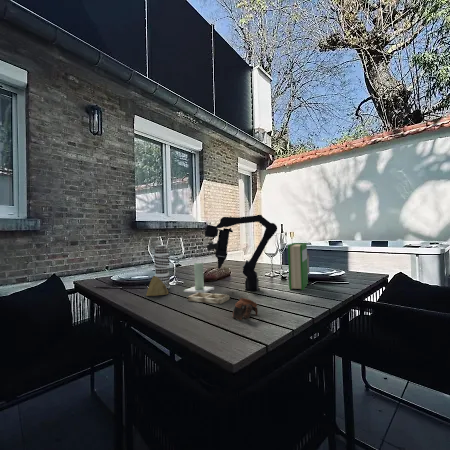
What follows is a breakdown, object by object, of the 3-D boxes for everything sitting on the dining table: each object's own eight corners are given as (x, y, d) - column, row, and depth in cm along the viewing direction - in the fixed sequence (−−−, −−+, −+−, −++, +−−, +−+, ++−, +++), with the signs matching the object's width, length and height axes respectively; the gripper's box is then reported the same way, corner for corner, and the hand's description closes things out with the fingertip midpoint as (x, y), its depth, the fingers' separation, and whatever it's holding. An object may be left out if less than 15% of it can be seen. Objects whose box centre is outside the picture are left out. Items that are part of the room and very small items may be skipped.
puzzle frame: (229, 300, 138) (229, 295, 138) (220, 305, 129) (220, 299, 129) (198, 297, 145) (198, 292, 145) (188, 301, 137) (188, 296, 137)
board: (214, 289, 161) (214, 287, 161) (203, 294, 150) (203, 291, 150) (195, 288, 166) (195, 285, 166) (184, 293, 156) (183, 290, 156)
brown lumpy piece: (228, 316, 115) (235, 296, 118) (249, 325, 116) (255, 305, 119) (236, 317, 104) (243, 295, 107) (259, 327, 105) (266, 305, 108)
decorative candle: (163, 290, 165) (161, 246, 165) (151, 288, 169) (149, 246, 169) (173, 286, 172) (172, 244, 173) (161, 285, 177) (160, 244, 177)
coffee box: (298, 277, 190) (297, 252, 190) (308, 277, 189) (308, 252, 189) (299, 279, 181) (298, 254, 182) (310, 280, 180) (309, 254, 180)
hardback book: (303, 290, 152) (301, 245, 153) (289, 289, 155) (287, 245, 155) (307, 284, 169) (306, 242, 169) (295, 283, 172) (293, 242, 172)
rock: (173, 288, 157) (159, 284, 161) (168, 277, 152) (153, 274, 156) (162, 304, 150) (147, 300, 154) (156, 293, 145) (141, 289, 149)
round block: (205, 288, 157) (204, 263, 157) (196, 290, 155) (196, 263, 155) (201, 287, 162) (201, 262, 162) (193, 288, 159) (192, 263, 159)
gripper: (209, 236, 169) (205, 262, 170) (208, 238, 151) (203, 267, 151) (228, 239, 169) (224, 265, 170) (229, 241, 151) (224, 270, 151)
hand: (219, 267), depth 160 cm, fingers open, 9 cm apart
